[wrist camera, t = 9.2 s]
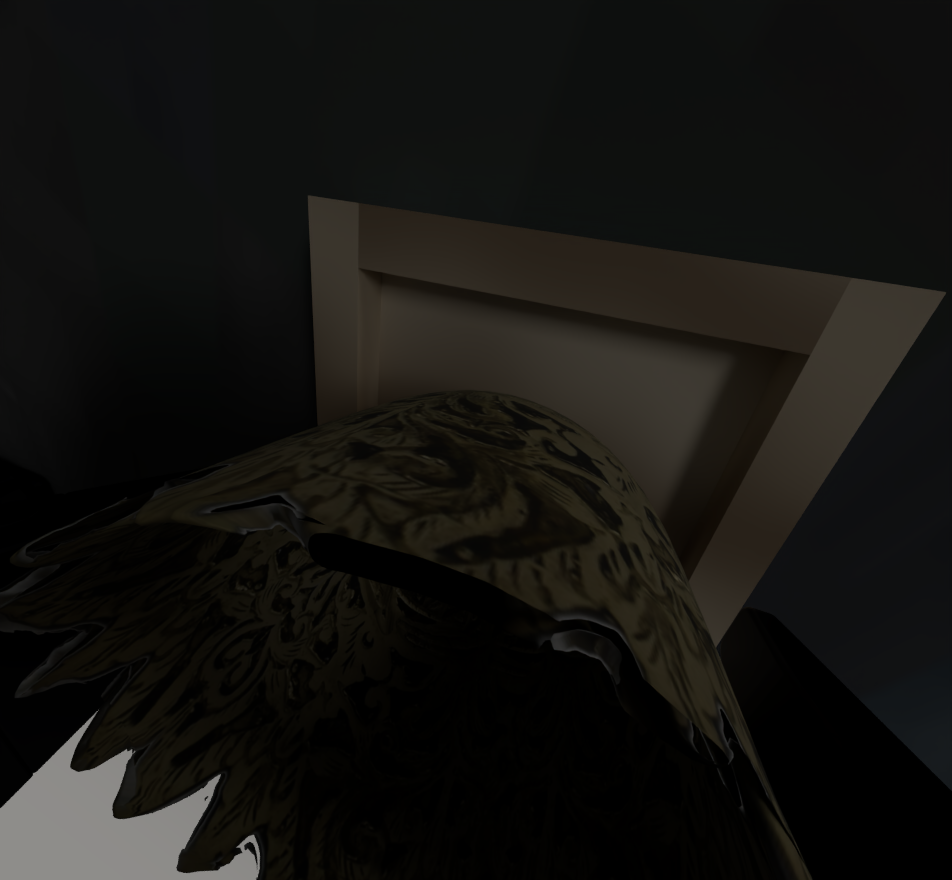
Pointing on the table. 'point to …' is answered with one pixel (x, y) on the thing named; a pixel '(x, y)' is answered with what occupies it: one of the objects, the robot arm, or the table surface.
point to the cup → (410, 658)
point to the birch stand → (620, 361)
